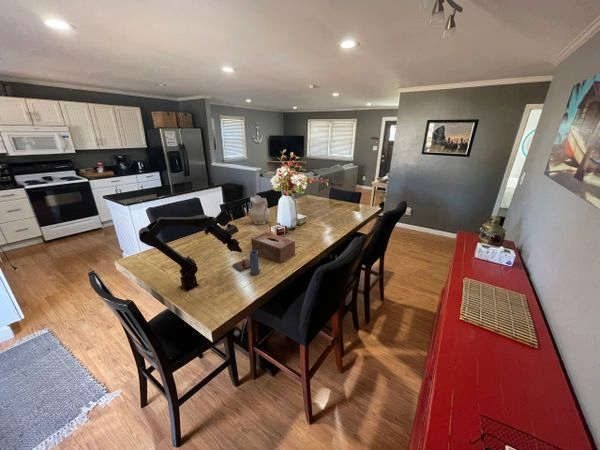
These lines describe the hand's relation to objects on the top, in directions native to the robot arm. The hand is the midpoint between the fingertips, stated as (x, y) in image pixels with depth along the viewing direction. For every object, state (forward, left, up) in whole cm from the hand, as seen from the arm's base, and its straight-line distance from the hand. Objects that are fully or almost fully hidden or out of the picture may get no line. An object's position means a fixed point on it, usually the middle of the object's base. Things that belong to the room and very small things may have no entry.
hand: (238, 248), depth 135 cm
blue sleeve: (+3, -9, -14) cm, 17 cm away
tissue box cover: (+28, -2, -14) cm, 32 cm away
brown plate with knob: (+5, +2, -14) cm, 15 cm away
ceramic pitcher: (+70, +47, -14) cm, 86 cm away
